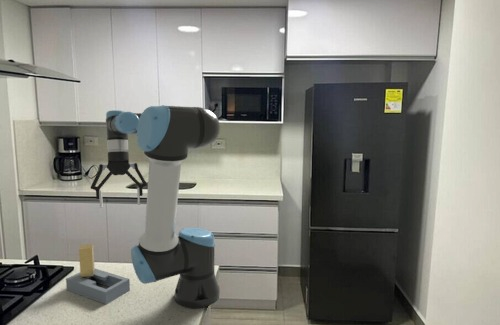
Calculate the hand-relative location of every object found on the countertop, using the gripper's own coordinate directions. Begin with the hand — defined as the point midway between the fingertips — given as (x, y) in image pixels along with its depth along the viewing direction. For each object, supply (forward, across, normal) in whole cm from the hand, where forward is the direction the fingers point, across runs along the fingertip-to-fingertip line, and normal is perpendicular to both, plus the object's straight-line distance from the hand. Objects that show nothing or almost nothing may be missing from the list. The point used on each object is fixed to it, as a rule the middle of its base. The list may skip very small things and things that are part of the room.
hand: (120, 206), depth 128 cm
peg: (+27, +12, +7) cm, 30 cm away
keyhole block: (+28, +8, +11) cm, 31 cm away
